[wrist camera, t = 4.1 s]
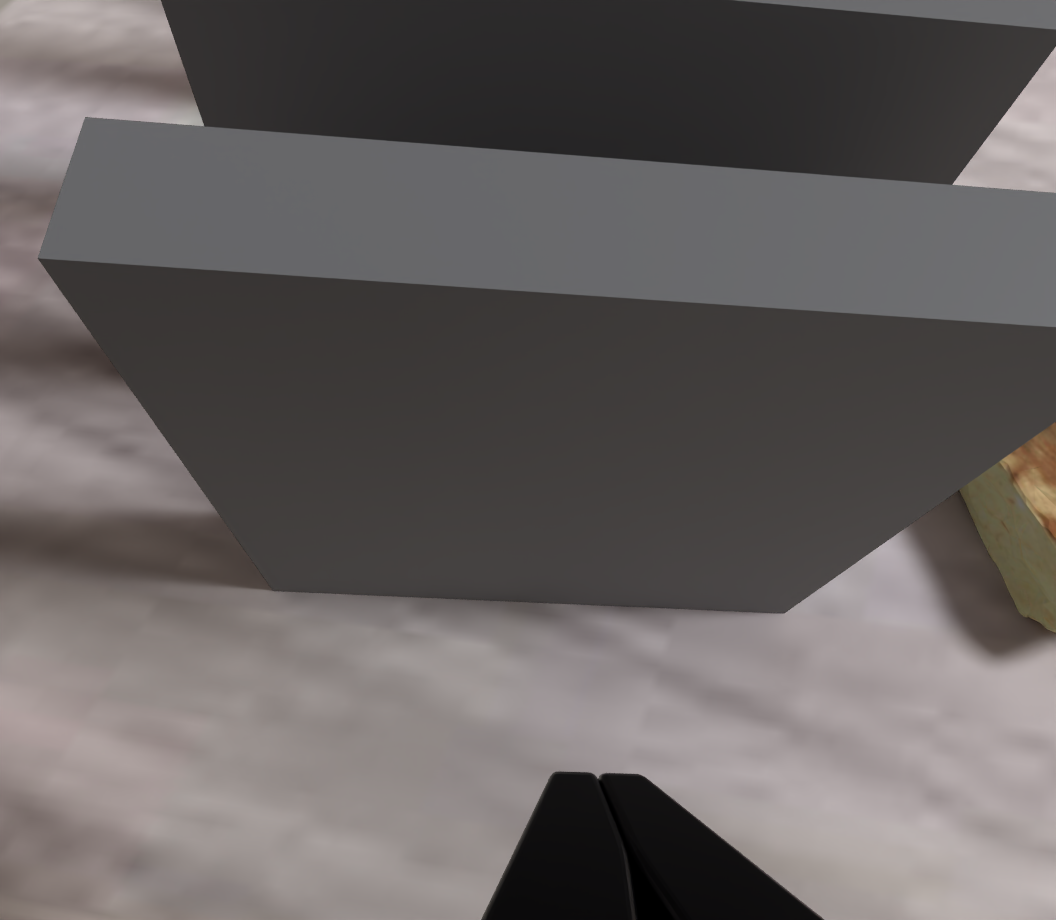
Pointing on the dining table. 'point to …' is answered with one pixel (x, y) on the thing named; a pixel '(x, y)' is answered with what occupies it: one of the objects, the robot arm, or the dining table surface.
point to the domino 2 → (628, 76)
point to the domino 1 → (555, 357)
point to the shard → (1021, 523)
